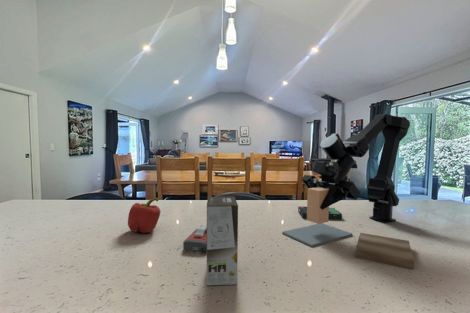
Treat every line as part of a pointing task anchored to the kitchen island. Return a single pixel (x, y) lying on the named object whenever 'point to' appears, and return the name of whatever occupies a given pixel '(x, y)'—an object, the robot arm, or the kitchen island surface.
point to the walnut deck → (385, 250)
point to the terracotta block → (317, 205)
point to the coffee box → (222, 240)
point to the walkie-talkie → (197, 240)
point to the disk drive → (332, 213)
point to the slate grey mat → (316, 234)
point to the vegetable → (143, 216)
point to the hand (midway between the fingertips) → (314, 206)
